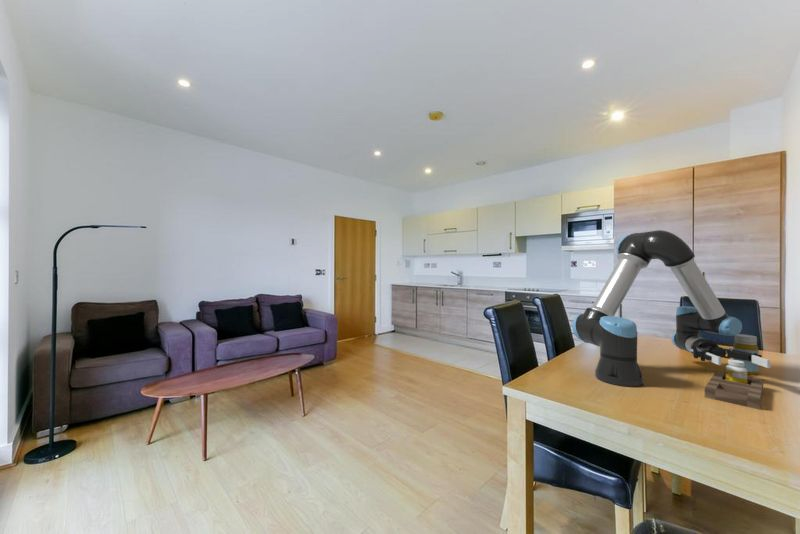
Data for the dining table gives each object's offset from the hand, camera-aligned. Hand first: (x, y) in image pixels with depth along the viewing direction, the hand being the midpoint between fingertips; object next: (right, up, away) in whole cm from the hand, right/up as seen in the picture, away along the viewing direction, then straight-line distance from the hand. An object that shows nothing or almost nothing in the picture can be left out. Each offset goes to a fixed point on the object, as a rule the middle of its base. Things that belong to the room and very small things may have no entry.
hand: (744, 362), depth 109 cm
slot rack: (-4, -10, -1) cm, 11 cm away
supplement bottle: (+1, -10, +3) cm, 11 cm away
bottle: (+23, -10, +20) cm, 32 cm away
